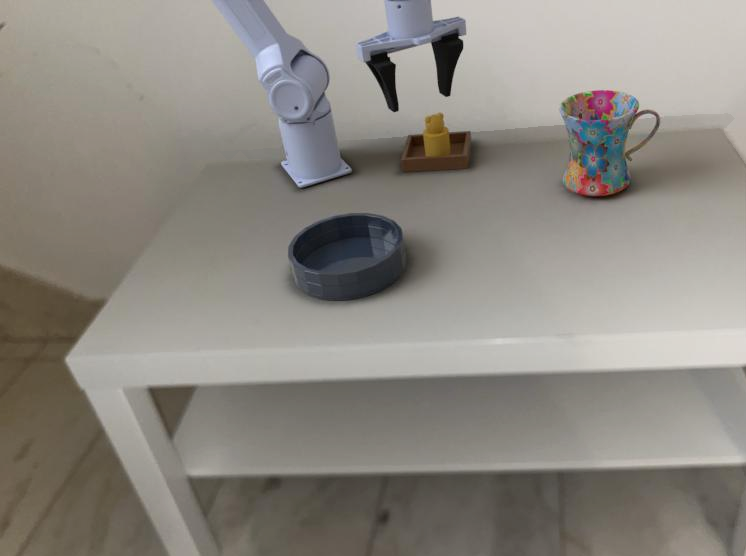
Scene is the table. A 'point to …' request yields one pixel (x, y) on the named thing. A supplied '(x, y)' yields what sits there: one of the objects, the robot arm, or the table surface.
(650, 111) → the mug
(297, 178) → the robot arm
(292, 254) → the bowl
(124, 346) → the table surface
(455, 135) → the tray
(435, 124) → the toy
